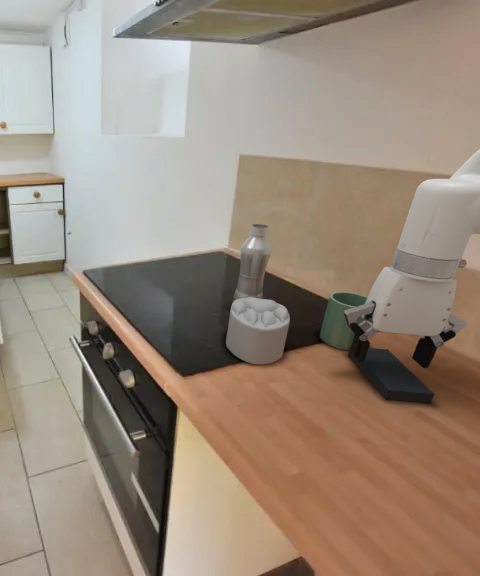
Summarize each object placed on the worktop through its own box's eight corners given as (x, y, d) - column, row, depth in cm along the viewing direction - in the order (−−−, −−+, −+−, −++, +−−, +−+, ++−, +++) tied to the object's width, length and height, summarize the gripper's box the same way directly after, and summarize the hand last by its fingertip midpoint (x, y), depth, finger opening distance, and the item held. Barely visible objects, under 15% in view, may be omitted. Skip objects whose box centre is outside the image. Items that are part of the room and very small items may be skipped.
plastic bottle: (263, 307, 90) (278, 224, 83) (257, 318, 85) (273, 231, 77) (235, 301, 94) (247, 221, 86) (228, 311, 88) (240, 227, 81)
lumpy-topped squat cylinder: (281, 335, 78) (289, 297, 74) (284, 369, 67) (294, 326, 63) (228, 326, 81) (233, 289, 78) (223, 357, 70) (229, 315, 67)
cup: (353, 332, 79) (365, 292, 76) (372, 352, 72) (386, 309, 69) (313, 329, 80) (323, 290, 77) (328, 349, 73) (340, 306, 70)
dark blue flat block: (384, 357, 70) (387, 349, 70) (430, 403, 58) (434, 393, 58) (347, 354, 71) (350, 346, 71) (385, 399, 59) (388, 389, 59)
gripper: (468, 260, 59) (430, 353, 66) (350, 253, 62) (324, 344, 68) (509, 277, 53) (461, 379, 59) (374, 268, 55) (342, 368, 61)
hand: (387, 360), depth 64 cm, fingers open, 9 cm apart
